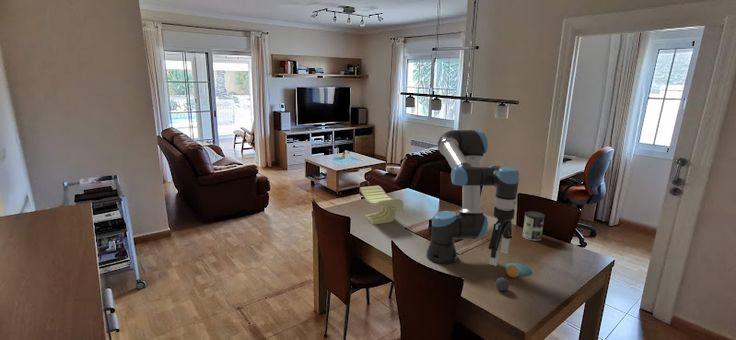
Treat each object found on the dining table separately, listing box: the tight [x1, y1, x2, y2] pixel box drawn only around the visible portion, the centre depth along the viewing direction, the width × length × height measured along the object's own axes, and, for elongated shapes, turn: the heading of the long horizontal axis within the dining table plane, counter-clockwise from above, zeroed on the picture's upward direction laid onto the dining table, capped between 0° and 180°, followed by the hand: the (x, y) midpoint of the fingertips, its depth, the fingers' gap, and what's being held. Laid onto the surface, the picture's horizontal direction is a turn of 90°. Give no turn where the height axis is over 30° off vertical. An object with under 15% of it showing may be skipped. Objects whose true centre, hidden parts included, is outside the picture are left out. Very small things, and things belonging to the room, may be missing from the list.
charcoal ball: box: [495, 276, 510, 292], centre depth 157 cm, size 6×6×6 cm
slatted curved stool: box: [359, 185, 404, 225], centre depth 232 cm, size 30×16×18 cm, turn 23°
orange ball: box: [505, 265, 519, 278], centre depth 168 cm, size 6×6×6 cm
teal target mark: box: [504, 262, 533, 277], centre depth 175 cm, size 12×12×1 cm
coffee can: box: [522, 210, 546, 242], centre depth 210 cm, size 10×10×14 cm
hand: (498, 258), depth 147 cm, fingers open, 12 cm apart
